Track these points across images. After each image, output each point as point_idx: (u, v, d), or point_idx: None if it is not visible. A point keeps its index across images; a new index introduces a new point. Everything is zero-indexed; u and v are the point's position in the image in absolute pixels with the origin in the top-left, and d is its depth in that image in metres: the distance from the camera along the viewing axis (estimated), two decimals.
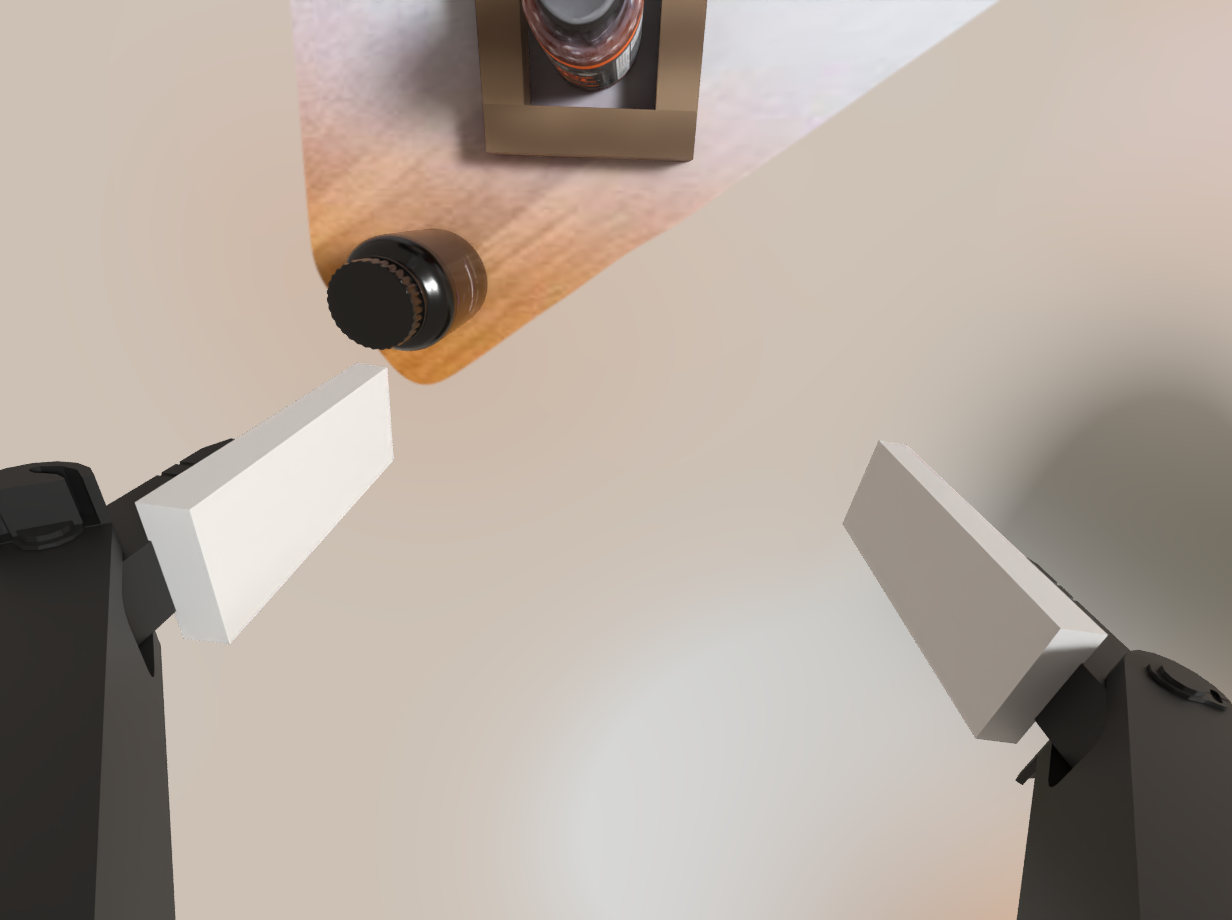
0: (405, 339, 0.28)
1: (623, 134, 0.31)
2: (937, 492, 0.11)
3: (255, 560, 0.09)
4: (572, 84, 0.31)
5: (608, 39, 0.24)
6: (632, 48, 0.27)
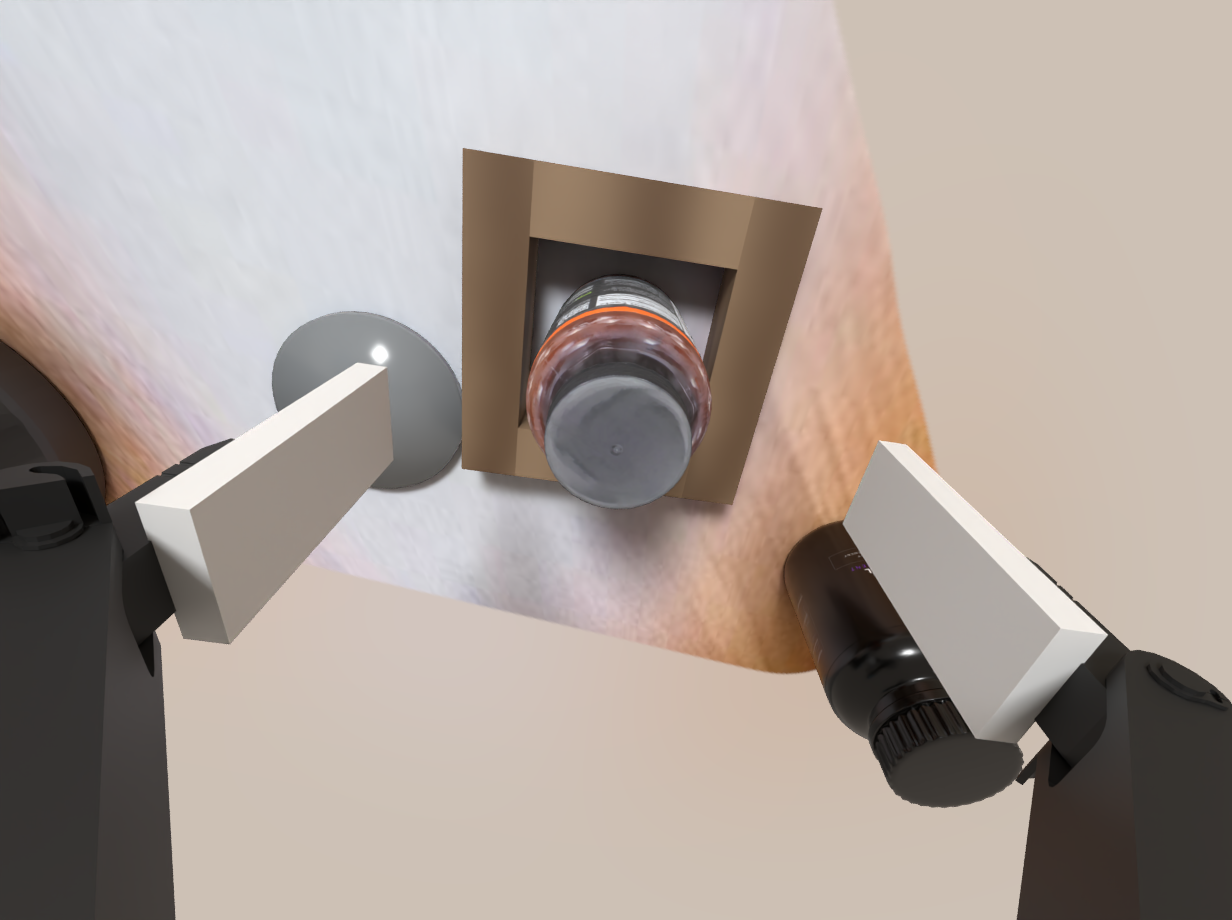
0: None
1: (756, 324, 0.21)
2: (937, 492, 0.11)
3: (255, 560, 0.09)
4: None
5: (693, 385, 0.15)
6: (674, 314, 0.18)
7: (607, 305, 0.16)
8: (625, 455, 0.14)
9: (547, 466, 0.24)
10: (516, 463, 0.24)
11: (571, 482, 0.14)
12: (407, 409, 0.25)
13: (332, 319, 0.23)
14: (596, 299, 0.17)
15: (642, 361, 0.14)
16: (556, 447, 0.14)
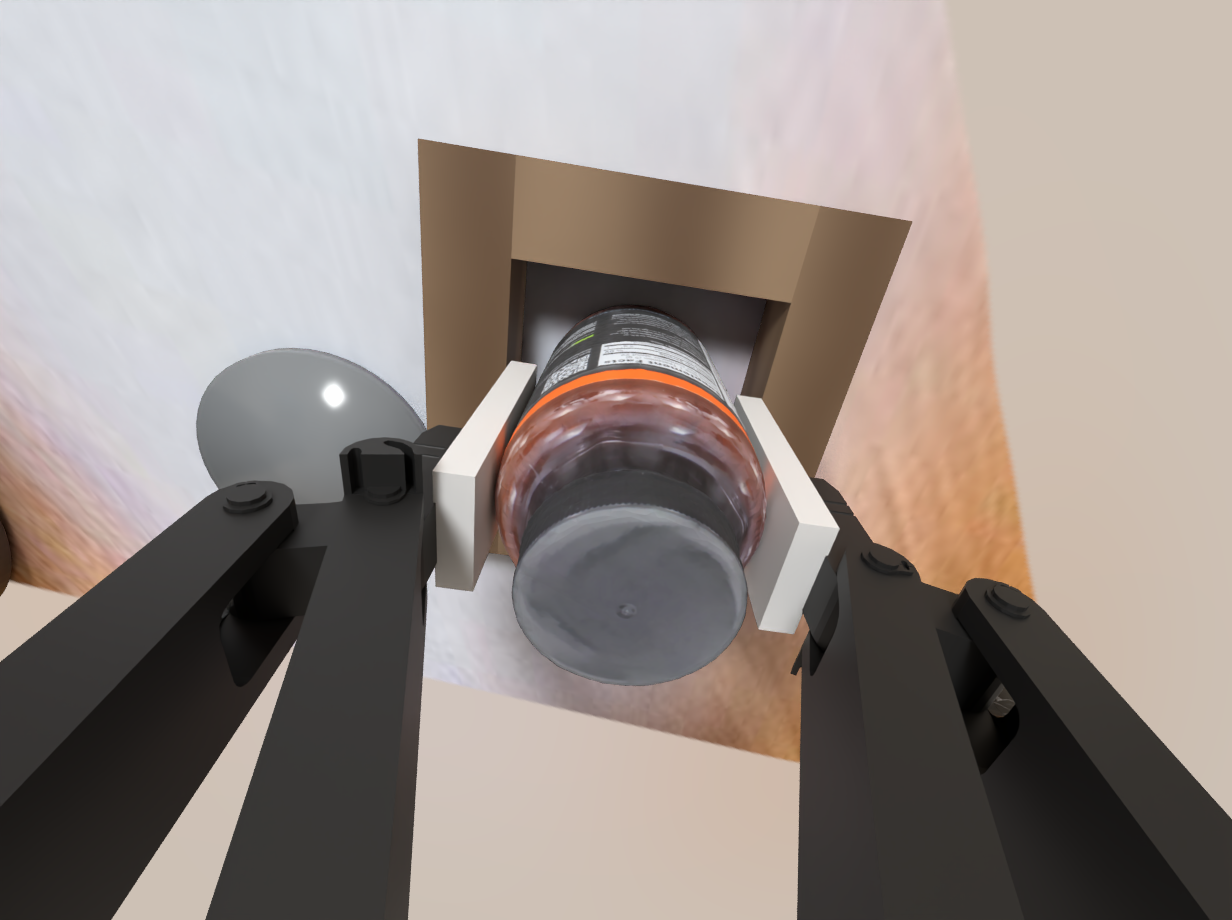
0: None
1: (813, 374, 0.15)
2: (762, 432, 0.13)
3: (486, 523, 0.11)
4: None
5: (743, 491, 0.10)
6: (708, 369, 0.13)
7: (614, 366, 0.11)
8: (641, 618, 0.09)
9: None
10: (499, 539, 0.19)
11: (556, 651, 0.09)
12: None
13: (266, 358, 0.18)
14: (599, 351, 0.12)
15: (667, 463, 0.09)
16: (531, 605, 0.09)
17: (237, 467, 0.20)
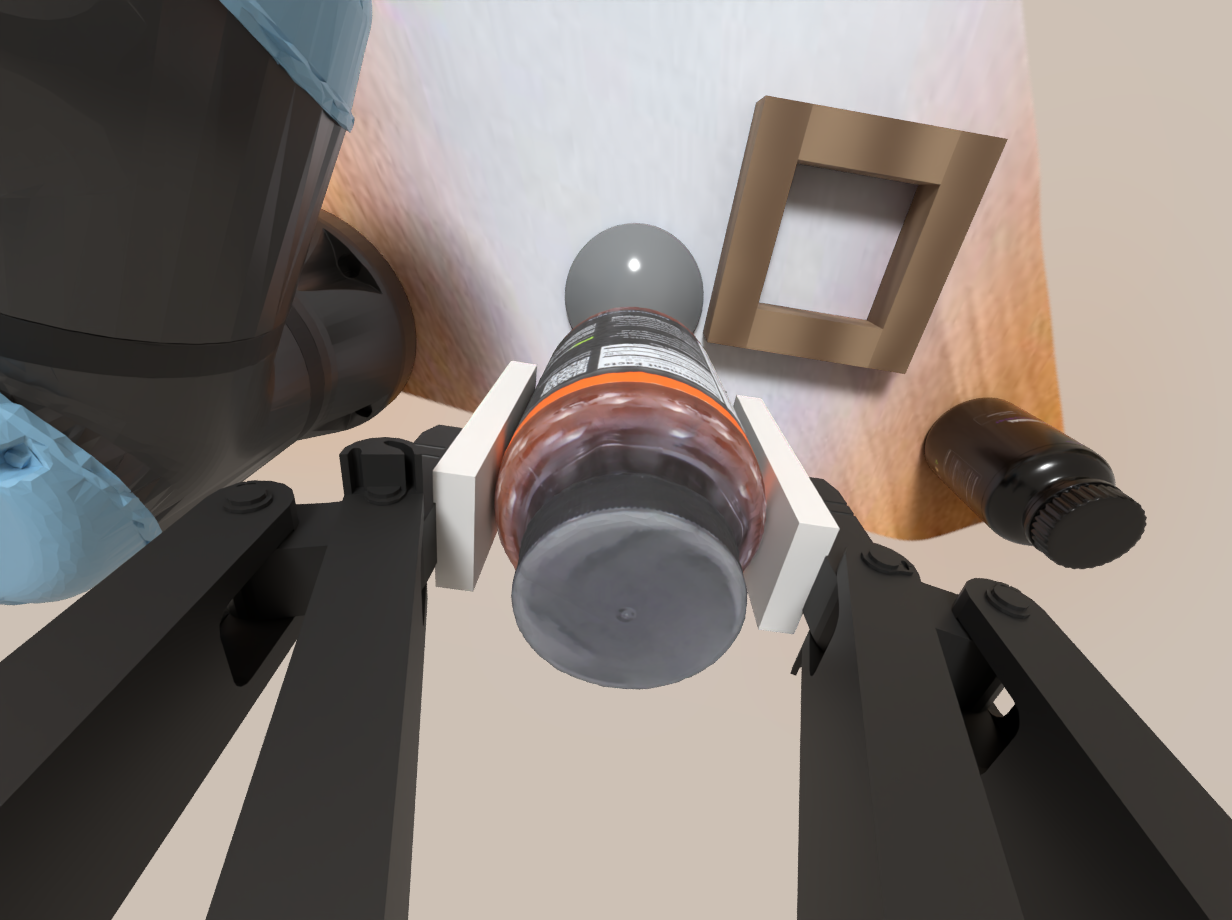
0: None
1: (947, 226, 0.29)
2: (762, 432, 0.13)
3: (486, 523, 0.11)
4: None
5: (742, 494, 0.10)
6: (707, 372, 0.13)
7: (614, 368, 0.11)
8: (640, 621, 0.09)
9: (772, 340, 0.32)
10: (749, 338, 0.32)
11: (555, 655, 0.09)
12: (662, 300, 0.33)
13: (624, 227, 0.31)
14: (599, 353, 0.12)
15: (666, 467, 0.09)
16: (530, 609, 0.09)
17: (584, 300, 0.33)
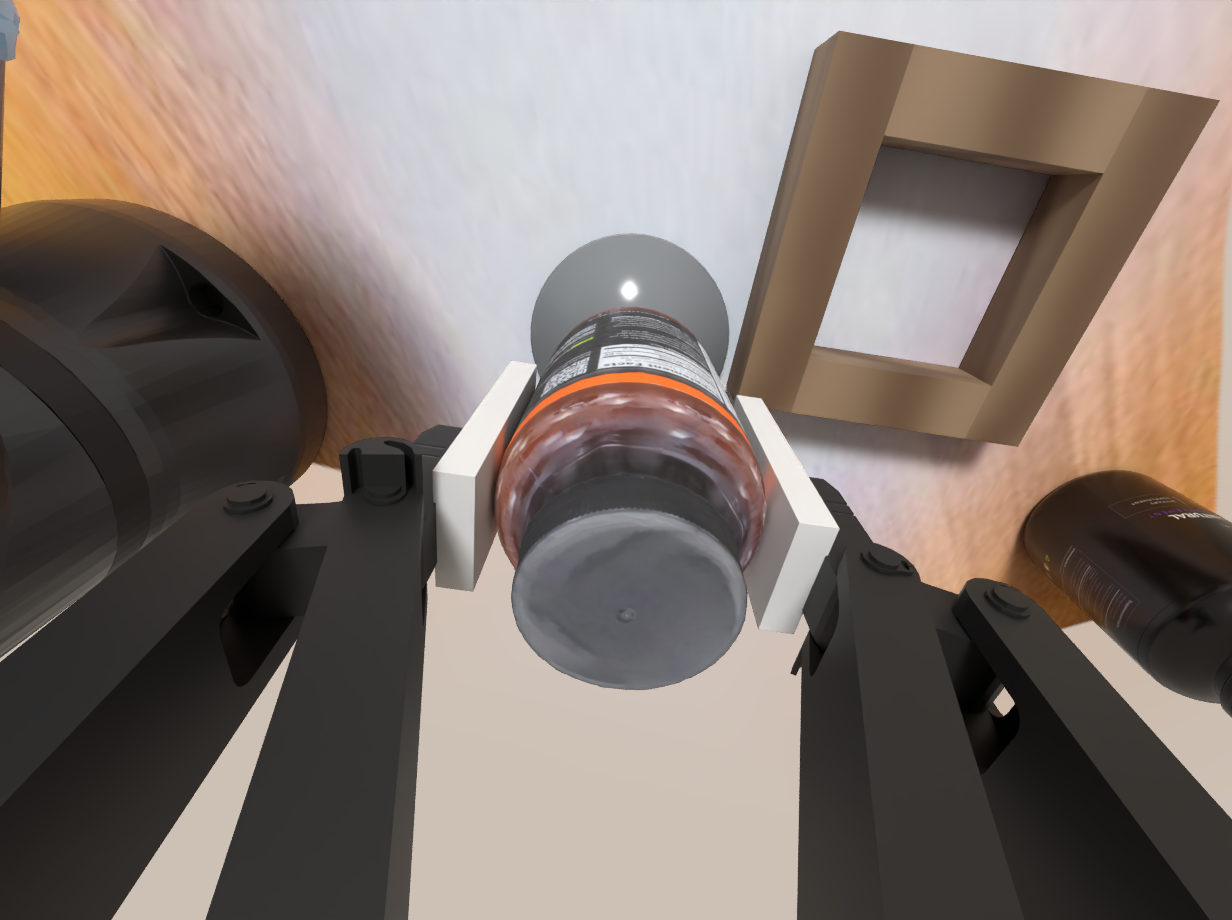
0: None
1: (1106, 238, 0.19)
2: (762, 432, 0.13)
3: (486, 523, 0.11)
4: None
5: (742, 495, 0.10)
6: (707, 372, 0.13)
7: (614, 369, 0.11)
8: (640, 622, 0.09)
9: (829, 402, 0.22)
10: (796, 398, 0.22)
11: (555, 656, 0.09)
12: None
13: (615, 240, 0.21)
14: (599, 354, 0.12)
15: (666, 467, 0.09)
16: (530, 610, 0.08)
17: (558, 344, 0.23)
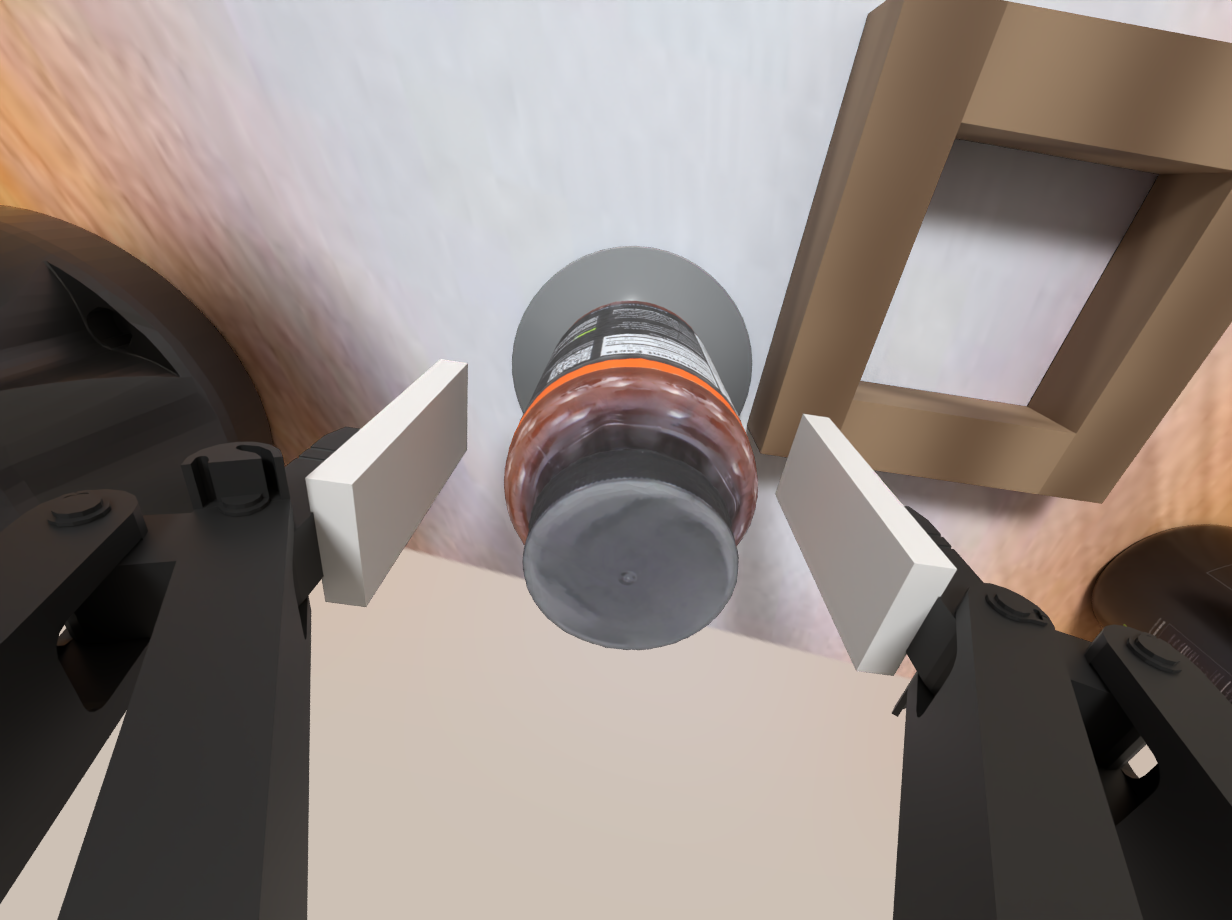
0: None
1: None
2: (843, 456, 0.12)
3: (384, 533, 0.10)
4: None
5: (735, 471, 0.11)
6: (703, 360, 0.14)
7: (616, 355, 0.11)
8: (641, 584, 0.09)
9: (875, 451, 0.18)
10: None
11: (562, 617, 0.10)
12: None
13: (613, 255, 0.17)
14: (601, 342, 0.13)
15: (664, 444, 0.10)
16: (540, 573, 0.09)
17: None
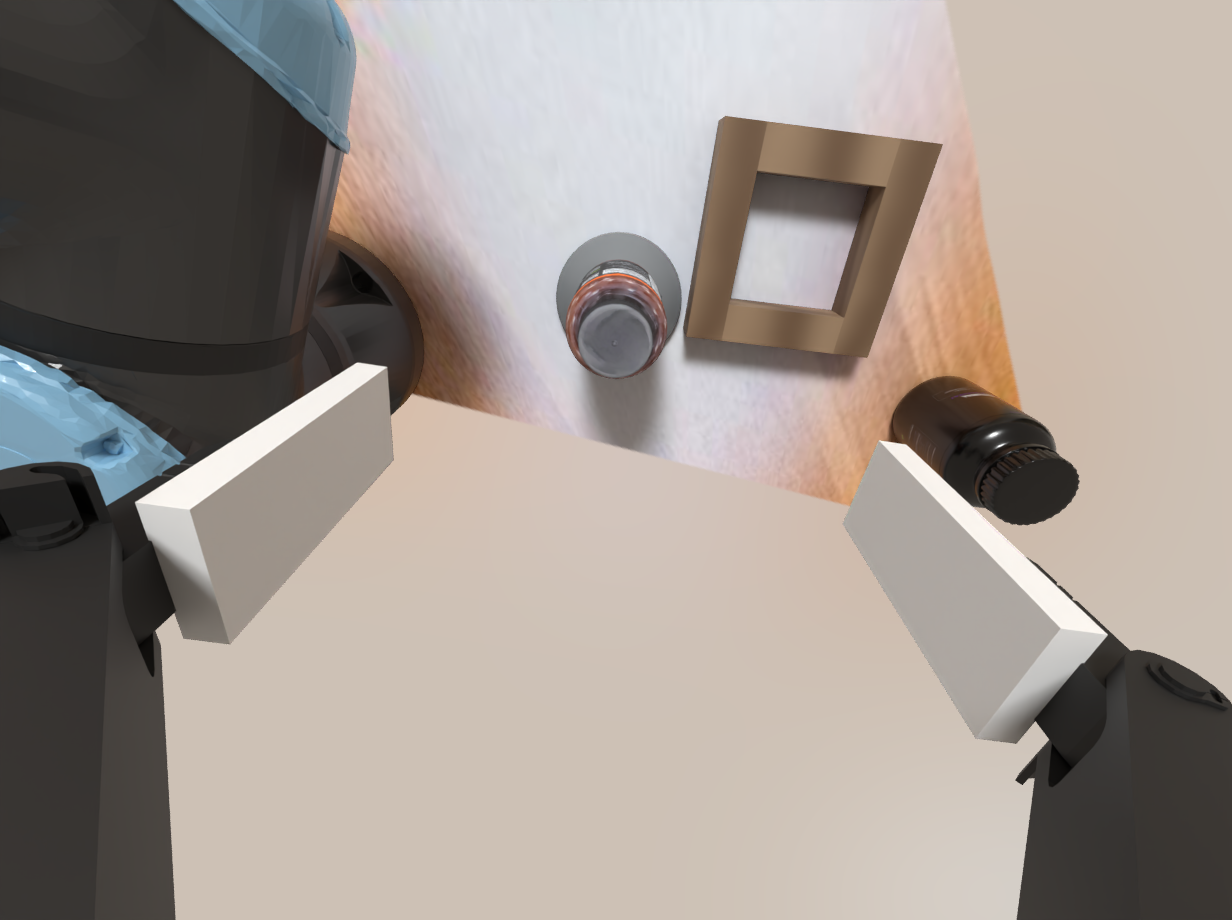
0: None
1: (895, 223, 0.32)
2: (937, 492, 0.11)
3: (255, 560, 0.09)
4: None
5: (655, 313, 0.28)
6: (647, 279, 0.31)
7: (608, 273, 0.29)
8: (619, 346, 0.27)
9: (744, 332, 0.36)
10: (723, 331, 0.36)
11: (592, 362, 0.27)
12: None
13: (607, 236, 0.35)
14: (602, 271, 0.30)
15: (626, 299, 0.27)
16: (584, 343, 0.27)
17: None
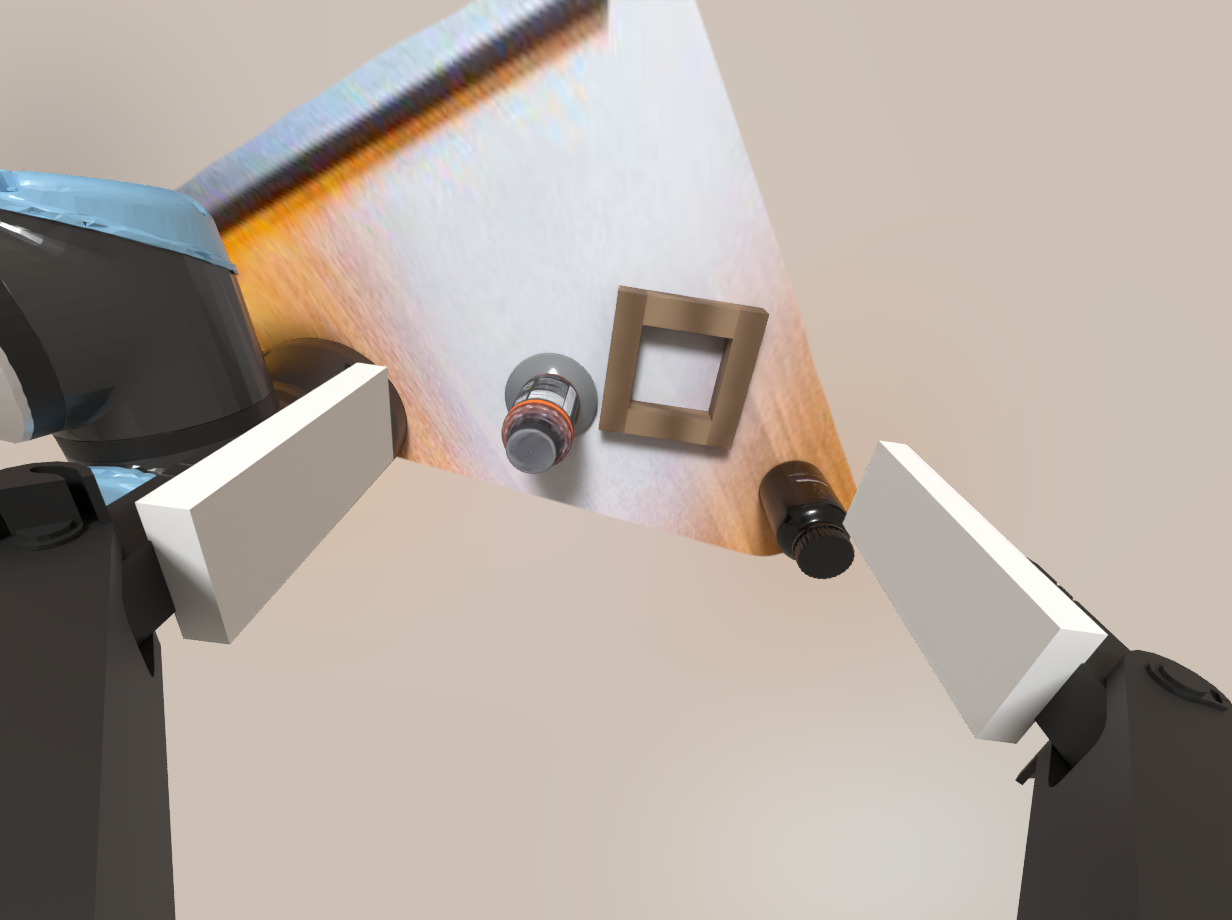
0: (851, 545, 0.43)
1: (742, 362, 0.45)
2: (937, 492, 0.11)
3: (255, 560, 0.09)
4: None
5: (561, 429, 0.41)
6: (563, 398, 0.44)
7: (532, 398, 0.42)
8: (533, 454, 0.40)
9: (640, 428, 0.49)
10: (625, 426, 0.49)
11: (515, 463, 0.40)
12: None
13: (541, 357, 0.48)
14: (530, 393, 0.43)
15: (540, 421, 0.40)
16: (509, 451, 0.40)
17: None
